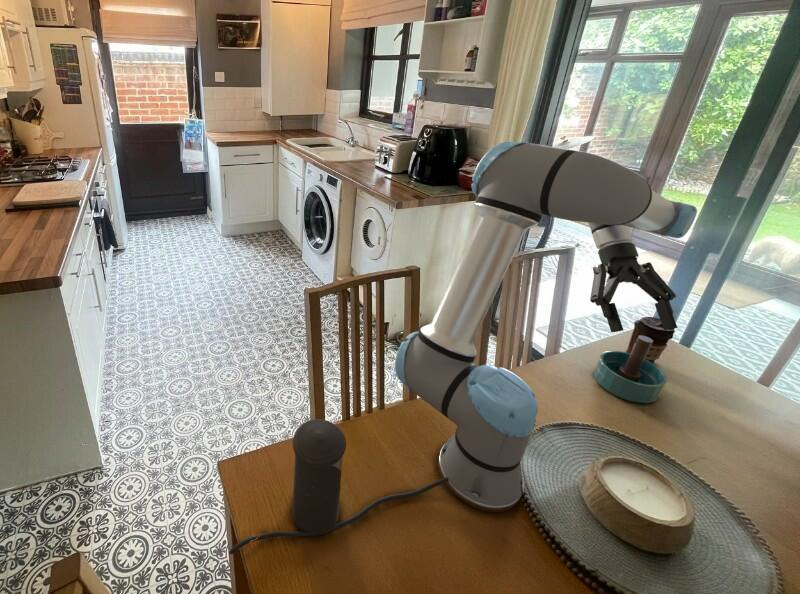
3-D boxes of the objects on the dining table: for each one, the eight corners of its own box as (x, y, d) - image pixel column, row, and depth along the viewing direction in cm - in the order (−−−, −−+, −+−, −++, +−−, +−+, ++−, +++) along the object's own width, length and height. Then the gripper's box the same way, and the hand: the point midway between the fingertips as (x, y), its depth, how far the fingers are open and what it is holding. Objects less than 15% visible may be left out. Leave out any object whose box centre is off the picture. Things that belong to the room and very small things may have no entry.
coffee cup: (665, 375, 108) (686, 335, 103) (630, 370, 110) (648, 330, 104) (646, 354, 116) (665, 316, 110) (614, 350, 117) (630, 312, 112)
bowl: (629, 410, 97) (638, 391, 95) (580, 373, 109) (587, 355, 106) (670, 399, 100) (680, 380, 98) (618, 364, 112) (626, 347, 109)
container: (349, 521, 73) (358, 442, 65) (308, 549, 69) (311, 469, 61) (321, 483, 80) (325, 407, 72) (281, 506, 76) (281, 429, 67)
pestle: (626, 391, 102) (648, 345, 96) (610, 379, 106) (629, 334, 100) (640, 387, 103) (662, 342, 97) (623, 376, 107) (643, 332, 101)
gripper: (647, 250, 108) (677, 330, 101) (558, 252, 106) (582, 334, 99) (674, 239, 101) (708, 325, 94) (579, 242, 99) (607, 329, 92)
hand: (644, 330), depth 96 cm, fingers open, 13 cm apart
